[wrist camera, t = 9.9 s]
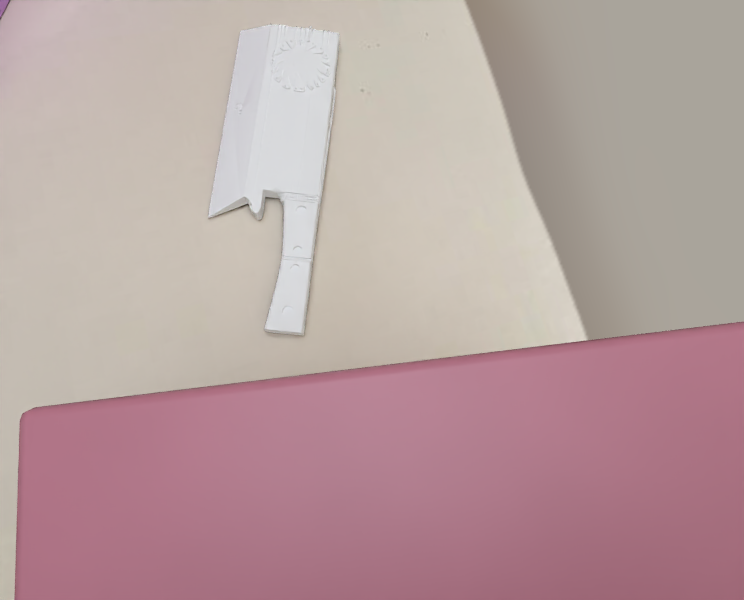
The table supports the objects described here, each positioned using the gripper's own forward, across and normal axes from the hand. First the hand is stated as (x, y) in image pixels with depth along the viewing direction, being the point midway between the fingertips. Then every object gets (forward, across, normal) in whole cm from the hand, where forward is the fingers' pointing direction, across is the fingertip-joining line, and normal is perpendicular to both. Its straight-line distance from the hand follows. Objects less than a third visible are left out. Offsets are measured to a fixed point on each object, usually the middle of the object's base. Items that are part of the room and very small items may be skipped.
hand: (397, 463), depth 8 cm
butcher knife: (+18, +3, +1) cm, 18 cm away
